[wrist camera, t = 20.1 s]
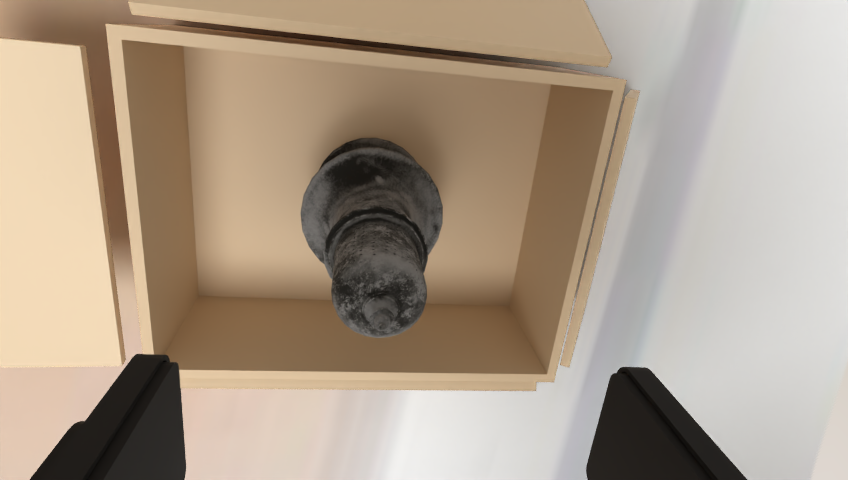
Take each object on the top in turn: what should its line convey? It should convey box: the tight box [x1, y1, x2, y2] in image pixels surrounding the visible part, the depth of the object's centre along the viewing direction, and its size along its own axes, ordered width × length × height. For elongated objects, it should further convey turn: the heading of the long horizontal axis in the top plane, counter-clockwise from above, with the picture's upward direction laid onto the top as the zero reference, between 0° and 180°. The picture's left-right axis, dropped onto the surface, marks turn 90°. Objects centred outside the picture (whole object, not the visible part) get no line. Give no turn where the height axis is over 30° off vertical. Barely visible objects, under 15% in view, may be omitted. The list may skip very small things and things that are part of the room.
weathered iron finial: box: [300, 138, 443, 338], centre depth 19 cm, size 6×6×12 cm
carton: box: [106, 0, 640, 391], centre depth 22 cm, size 20×20×6 cm
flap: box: [0, 38, 126, 368], centre depth 17 cm, size 1×11×6 cm
